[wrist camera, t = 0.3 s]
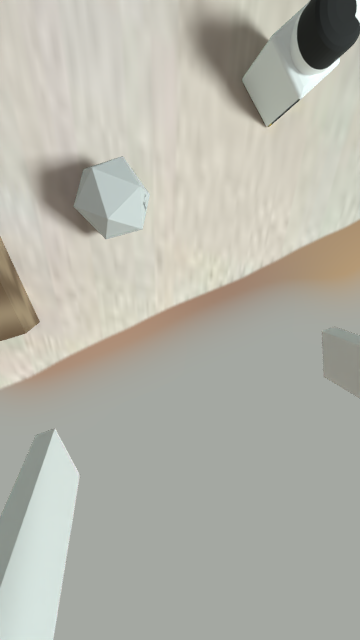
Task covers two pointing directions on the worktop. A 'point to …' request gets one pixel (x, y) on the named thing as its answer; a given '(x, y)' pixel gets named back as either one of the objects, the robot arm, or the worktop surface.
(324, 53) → the medicine bottle
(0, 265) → the walnut block
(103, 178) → the die
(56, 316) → the worktop surface
